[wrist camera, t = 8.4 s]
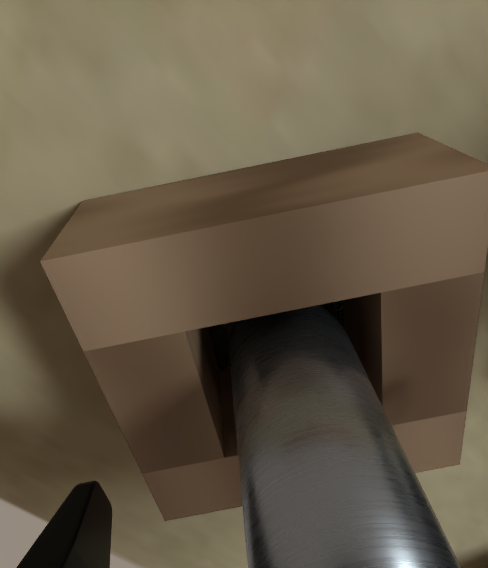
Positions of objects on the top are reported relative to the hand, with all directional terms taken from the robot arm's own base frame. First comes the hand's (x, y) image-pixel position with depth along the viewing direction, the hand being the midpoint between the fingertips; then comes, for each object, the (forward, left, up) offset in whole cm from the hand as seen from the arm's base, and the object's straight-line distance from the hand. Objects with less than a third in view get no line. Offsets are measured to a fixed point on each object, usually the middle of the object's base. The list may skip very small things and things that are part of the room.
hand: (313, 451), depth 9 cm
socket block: (0, 0, -6) cm, 6 cm away
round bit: (0, 0, -6) cm, 6 cm away
